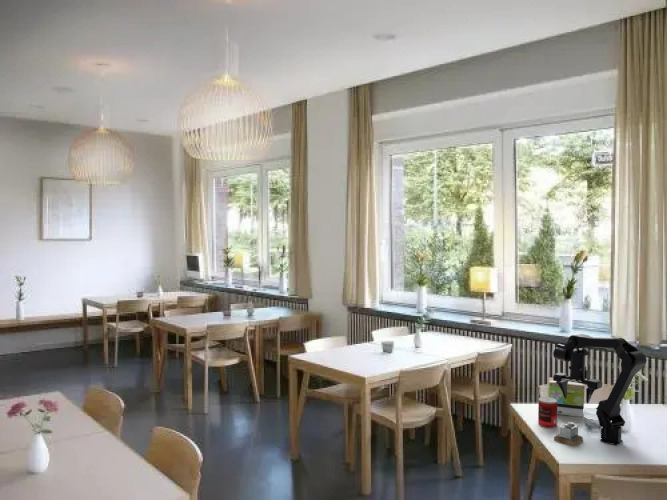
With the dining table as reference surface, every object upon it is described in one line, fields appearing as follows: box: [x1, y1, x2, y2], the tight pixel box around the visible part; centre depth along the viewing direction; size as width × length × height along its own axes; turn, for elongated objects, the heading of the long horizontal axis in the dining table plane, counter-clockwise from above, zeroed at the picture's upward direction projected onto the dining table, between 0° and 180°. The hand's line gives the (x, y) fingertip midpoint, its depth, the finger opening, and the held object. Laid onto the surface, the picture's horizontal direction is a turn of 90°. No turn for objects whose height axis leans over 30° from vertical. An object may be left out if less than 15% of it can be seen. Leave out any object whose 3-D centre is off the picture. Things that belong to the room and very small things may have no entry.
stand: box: [553, 433, 584, 447], centre depth 228 cm, size 8×8×2 cm
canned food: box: [537, 396, 558, 429], centre depth 247 cm, size 8×8×11 cm
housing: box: [558, 421, 579, 440], centre depth 228 cm, size 4×7×5 cm, turn 134°
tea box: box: [546, 377, 586, 418], centre depth 264 cm, size 15×10×15 cm
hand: (576, 400), depth 242 cm, fingers open, 9 cm apart
